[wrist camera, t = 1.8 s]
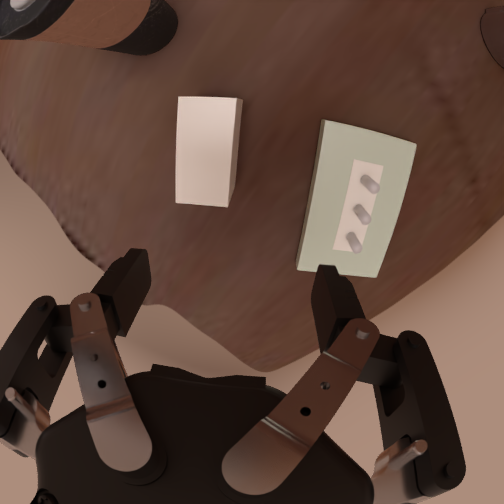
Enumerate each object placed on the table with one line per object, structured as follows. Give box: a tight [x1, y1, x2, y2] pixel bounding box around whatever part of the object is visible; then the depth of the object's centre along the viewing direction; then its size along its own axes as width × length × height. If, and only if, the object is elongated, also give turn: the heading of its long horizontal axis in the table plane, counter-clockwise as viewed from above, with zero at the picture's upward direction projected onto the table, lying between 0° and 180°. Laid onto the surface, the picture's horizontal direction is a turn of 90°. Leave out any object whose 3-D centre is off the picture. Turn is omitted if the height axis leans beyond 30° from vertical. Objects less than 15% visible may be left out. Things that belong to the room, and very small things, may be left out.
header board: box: [296, 119, 417, 278], centre depth 29 cm, size 18×11×5 cm, turn 174°
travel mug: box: [0, 0, 178, 55], centre depth 12 cm, size 8×8×20 cm
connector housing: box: [176, 97, 243, 207], centre depth 25 cm, size 10×5×6 cm, turn 174°
